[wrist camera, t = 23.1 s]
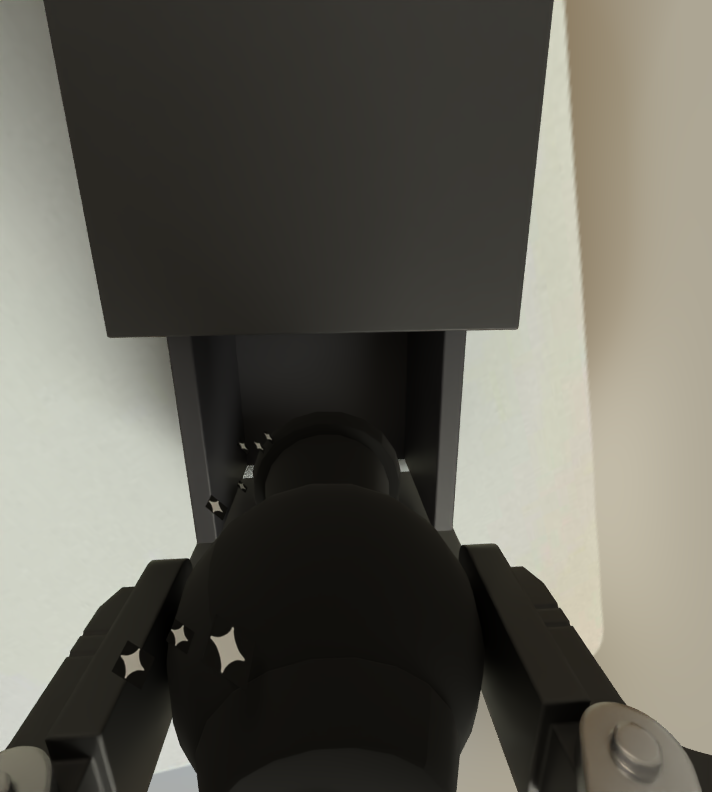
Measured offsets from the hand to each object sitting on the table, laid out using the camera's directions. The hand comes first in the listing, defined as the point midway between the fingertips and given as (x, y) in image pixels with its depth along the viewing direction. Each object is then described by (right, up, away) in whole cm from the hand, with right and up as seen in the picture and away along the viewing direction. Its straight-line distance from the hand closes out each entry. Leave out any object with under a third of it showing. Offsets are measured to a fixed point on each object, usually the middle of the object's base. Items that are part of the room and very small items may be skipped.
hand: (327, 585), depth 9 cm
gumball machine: (-1, +2, +5) cm, 6 cm away
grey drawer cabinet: (-1, +16, +10) cm, 19 cm away
